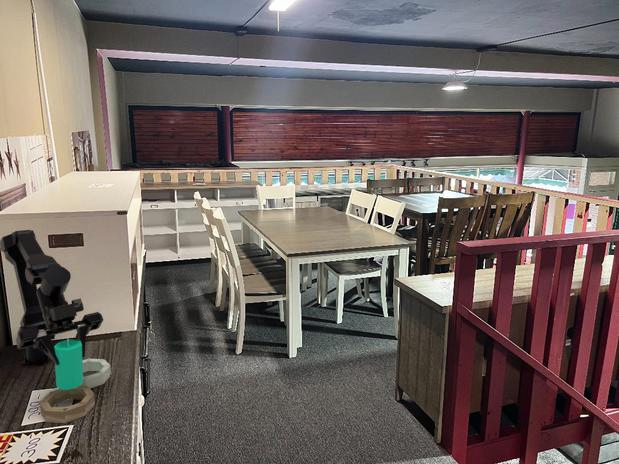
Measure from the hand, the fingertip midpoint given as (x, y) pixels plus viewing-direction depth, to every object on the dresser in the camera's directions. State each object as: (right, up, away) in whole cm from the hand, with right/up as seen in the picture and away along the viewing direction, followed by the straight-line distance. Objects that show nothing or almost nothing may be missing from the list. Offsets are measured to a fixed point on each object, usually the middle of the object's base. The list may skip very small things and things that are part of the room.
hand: (71, 360), depth 109 cm
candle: (-2, -6, +2) cm, 7 cm away
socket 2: (-3, -9, +15) cm, 18 cm away
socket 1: (-1, -12, +1) cm, 12 cm away
